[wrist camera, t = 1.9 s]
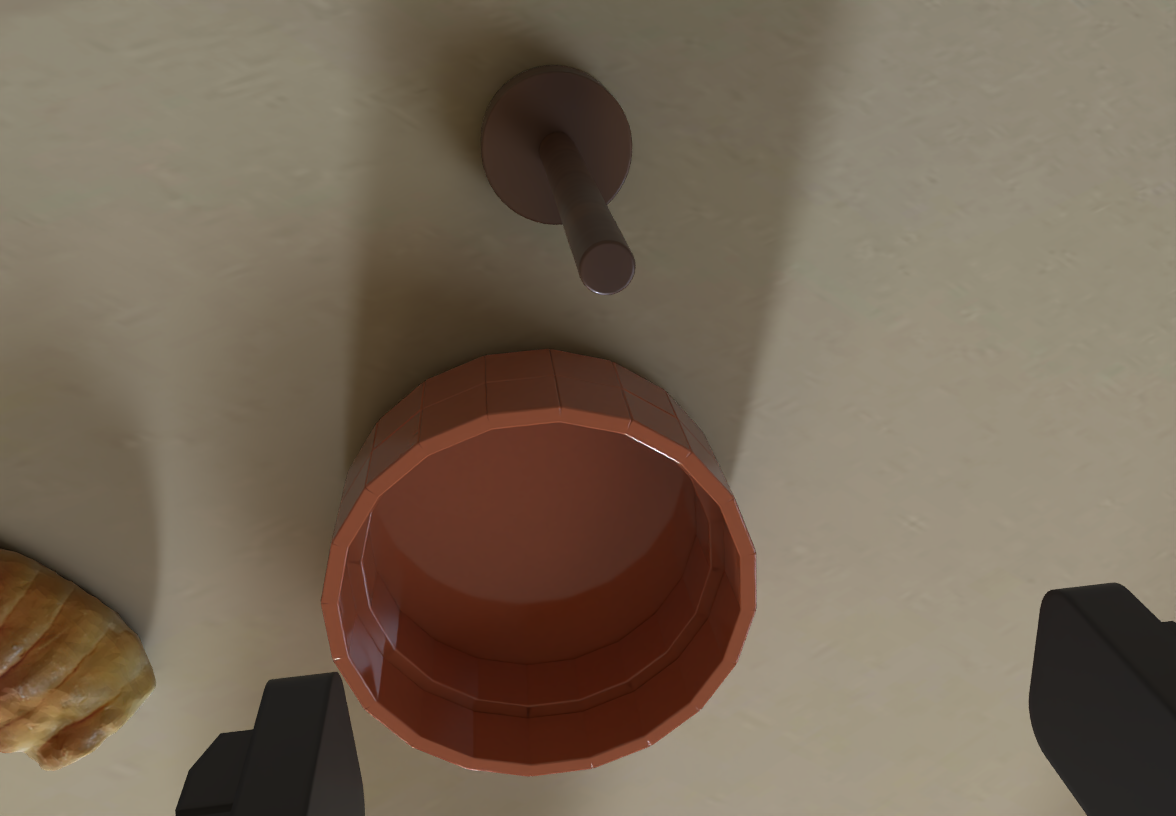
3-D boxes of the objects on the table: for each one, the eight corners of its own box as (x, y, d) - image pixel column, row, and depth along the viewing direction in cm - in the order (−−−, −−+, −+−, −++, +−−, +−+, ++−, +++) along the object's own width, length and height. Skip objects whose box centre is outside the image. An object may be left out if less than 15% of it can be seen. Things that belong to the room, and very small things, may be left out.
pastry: (-119, 592, 41) (-173, 651, 37) (12, 499, 40) (-31, 552, 37) (61, 742, 45) (26, 809, 41) (185, 660, 44) (161, 722, 40)
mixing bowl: (374, 696, 45) (360, 799, 40) (311, 366, 39) (285, 435, 34) (723, 653, 46) (757, 748, 41) (716, 325, 40) (755, 385, 35)
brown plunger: (489, 218, 38) (500, 390, 23) (472, 71, 36) (474, 158, 21) (628, 204, 38) (727, 367, 23) (620, 59, 36) (723, 136, 21)
